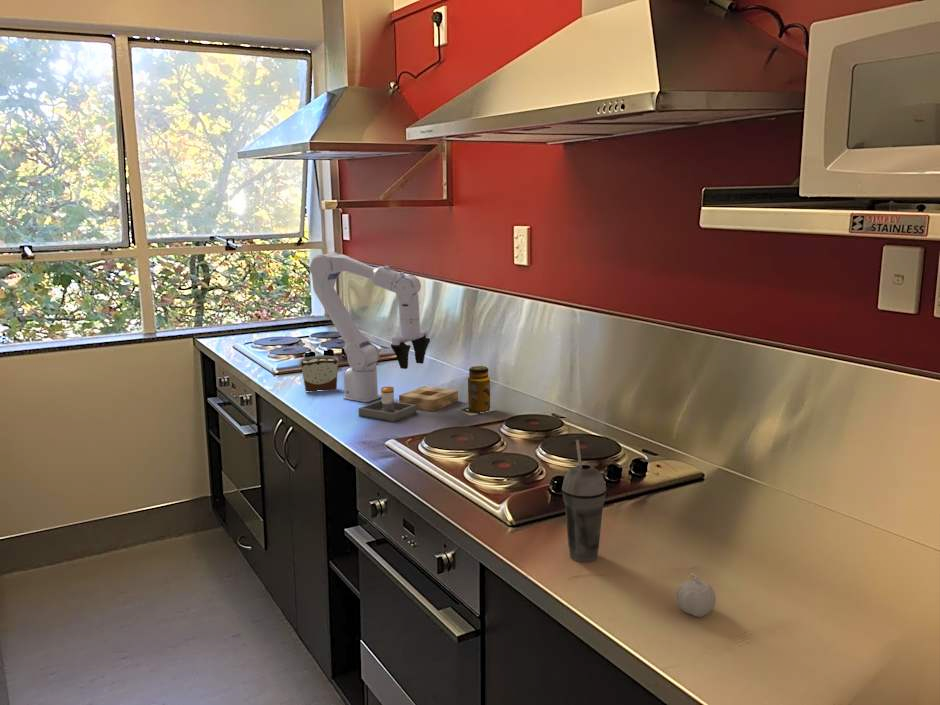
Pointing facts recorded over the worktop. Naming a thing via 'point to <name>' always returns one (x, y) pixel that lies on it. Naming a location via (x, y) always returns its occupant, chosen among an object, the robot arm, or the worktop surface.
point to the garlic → (696, 597)
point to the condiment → (478, 391)
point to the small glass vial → (387, 399)
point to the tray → (376, 412)
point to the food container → (320, 372)
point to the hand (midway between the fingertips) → (412, 365)
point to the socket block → (429, 398)
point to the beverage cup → (583, 509)
